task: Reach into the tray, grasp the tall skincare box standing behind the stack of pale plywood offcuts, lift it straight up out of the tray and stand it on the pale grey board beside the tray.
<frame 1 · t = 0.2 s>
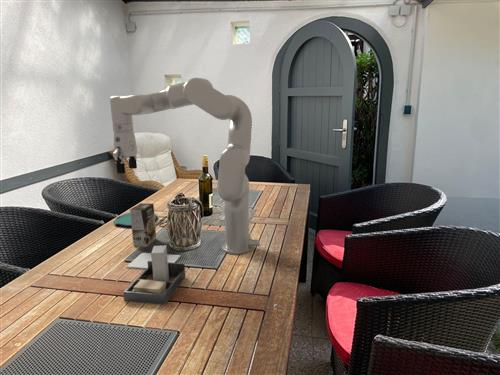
hand: (127, 170, 149), 31 cm above the table, tool pointing down, fingers open, 9 cm apart
tray: (156, 288, 119), on the table
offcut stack: (150, 296, 114), resting in tray
green flat slab: (145, 222, 182), on the table
coffee box: (145, 243, 156), on the table
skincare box: (161, 282, 123), resting in tray
board: (154, 261, 137), on the table
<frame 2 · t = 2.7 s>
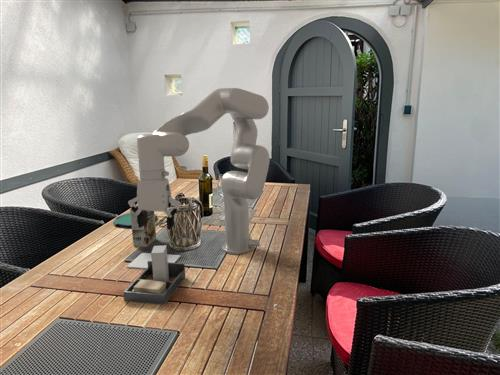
hand: (156, 227, 117), 20 cm above the table, tool pointing down, fingers open, 9 cm apart
nothing on the table moved.
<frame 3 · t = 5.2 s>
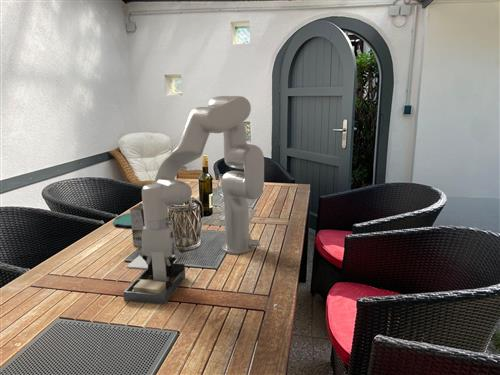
hand: (161, 274, 122), 3 cm above the table, tool pointing down, fingers closed on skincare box, 5 cm apart
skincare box: (161, 282, 123), resting in tray, touching gripper
everything else where it was.
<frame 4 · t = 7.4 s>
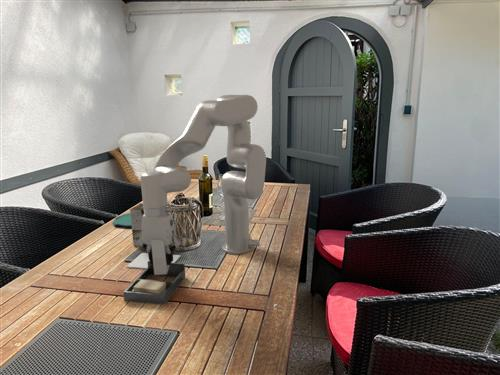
hand: (161, 262, 121), 7 cm above the table, tool pointing down, fingers closed on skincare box, 5 cm apart
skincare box: (162, 271, 122), point 4 cm above the table, touching gripper
everything else where it was.
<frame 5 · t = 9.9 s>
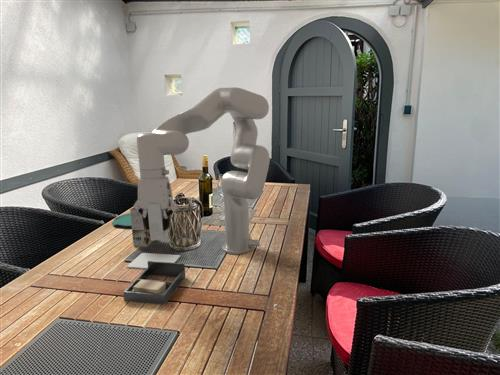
hand: (157, 228, 118), 19 cm above the table, tool pointing down, fingers closed on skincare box, 5 cm apart
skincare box: (158, 237, 119), point 16 cm above the table, touching gripper
everything else where it was.
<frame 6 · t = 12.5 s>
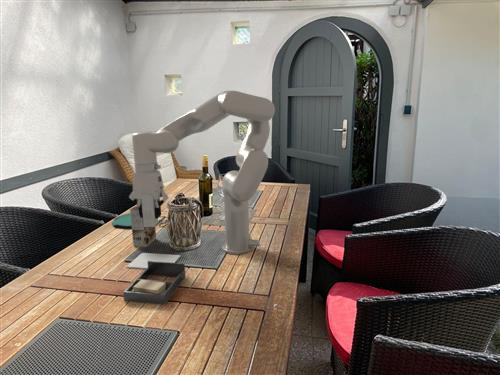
hand: (150, 216, 133), 18 cm above the table, tool pointing down, fingers closed on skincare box, 5 cm apart
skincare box: (151, 224, 134), point 15 cm above the table, touching gripper
everything else where it was.
when the fingers open (5 cm above the table, at t = 14.9 s): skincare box drops 1 cm, resting on board.
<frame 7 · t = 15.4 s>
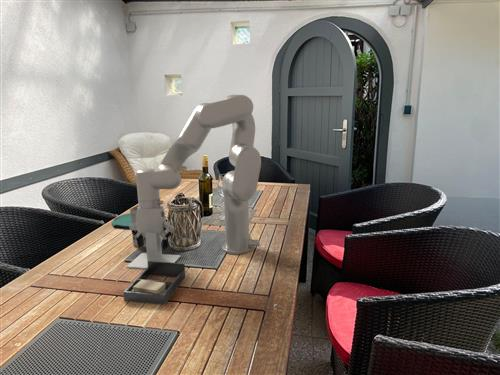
hand: (153, 247, 136), 6 cm above the table, tool pointing down, fingers open, 9 cm apart
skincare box: (154, 261, 137), resting on board
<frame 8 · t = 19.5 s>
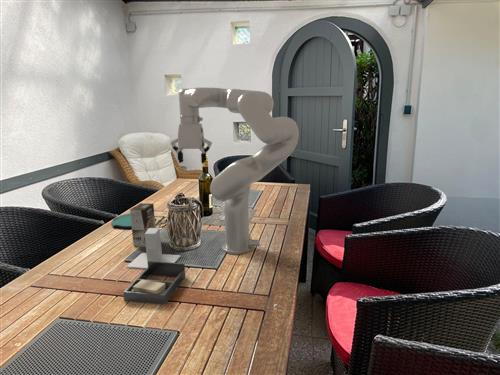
hand: (192, 162, 152), 33 cm above the table, tool pointing down, fingers open, 9 cm apart
at the end: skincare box inside the target area on the board (0.1 cm from its centre), point 0.3 cm above the board's base; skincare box tilted 0°; the gripper is holding nothing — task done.
